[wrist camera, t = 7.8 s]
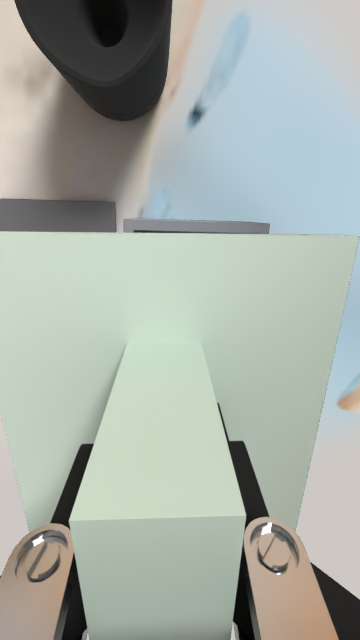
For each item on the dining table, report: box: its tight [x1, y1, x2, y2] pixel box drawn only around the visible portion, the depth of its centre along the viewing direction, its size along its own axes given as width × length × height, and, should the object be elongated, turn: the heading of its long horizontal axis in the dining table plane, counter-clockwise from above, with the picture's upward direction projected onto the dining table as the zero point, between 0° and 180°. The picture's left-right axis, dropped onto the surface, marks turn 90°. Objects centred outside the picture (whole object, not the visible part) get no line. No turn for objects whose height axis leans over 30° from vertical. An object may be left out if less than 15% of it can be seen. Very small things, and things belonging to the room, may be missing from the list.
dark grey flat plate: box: [0, 199, 116, 233], centre depth 32 cm, size 14×17×1 cm
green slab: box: [0, 231, 360, 640], centre depth 9 cm, size 12×14×8 cm
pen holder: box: [15, 0, 172, 121], centre depth 21 cm, size 9×9×10 cm
